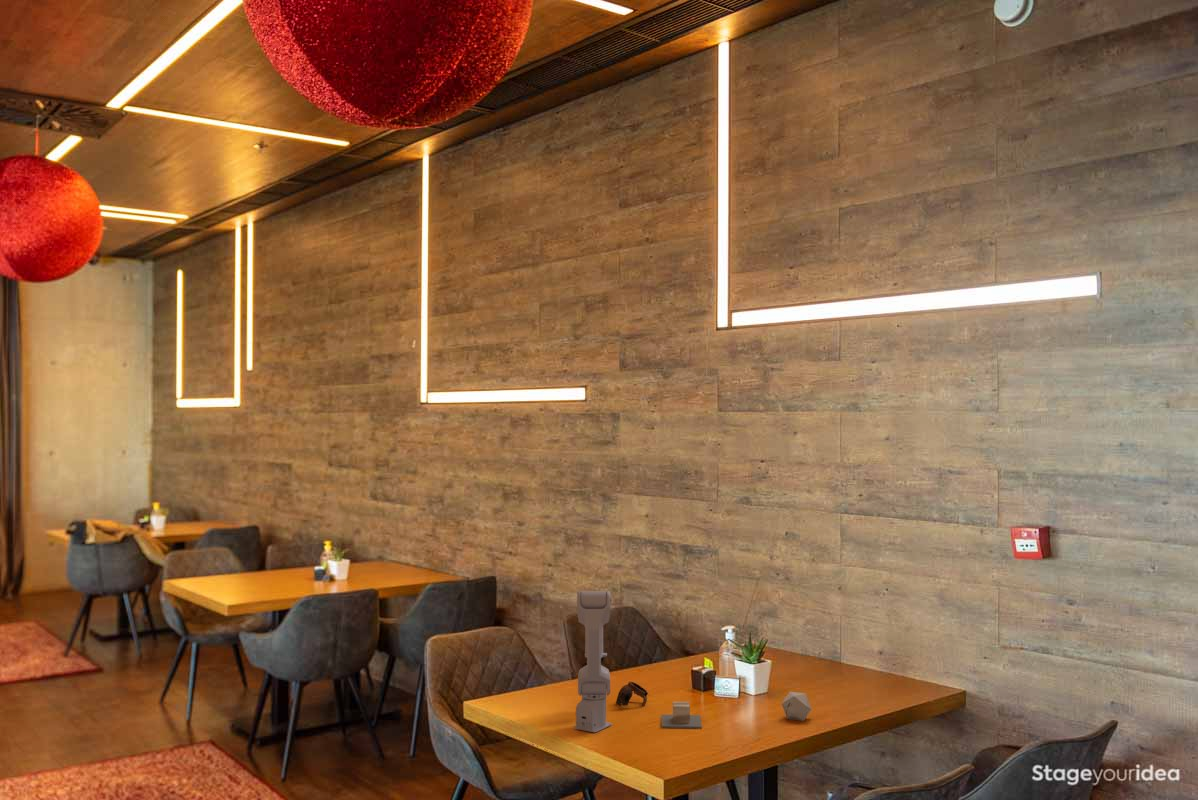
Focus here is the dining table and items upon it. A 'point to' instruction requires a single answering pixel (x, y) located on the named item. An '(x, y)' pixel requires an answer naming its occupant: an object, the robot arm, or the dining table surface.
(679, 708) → the cream block
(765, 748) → the dining table surface
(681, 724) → the slate mat
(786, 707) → the die
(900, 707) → the dining table surface
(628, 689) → the dark brown looped arch
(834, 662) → the dining table surface
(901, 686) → the dining table surface
